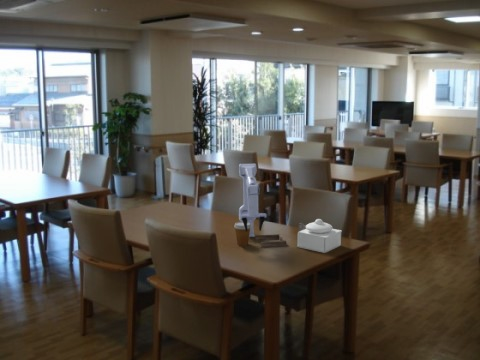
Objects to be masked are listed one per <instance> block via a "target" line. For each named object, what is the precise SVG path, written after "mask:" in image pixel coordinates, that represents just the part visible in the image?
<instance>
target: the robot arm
mask: <svg viewBox="0 0 480 360" xmlns="http://www.w3.org/2000/svg"><path fill="white" fill-rule="evenodd" d="M257 172H258V171H257V164H256V163H239V164H238V176H239V177H240V178H242V185H243V186H242V189H243V193H242V194H243V197H242V198H243V204H242V205H241V206H240V207H239V208H238V220H239V222H243V223H244V226H245V231H246V232H247V222H248V223H250V225H251V228H250V234H249V238H254V237H255V238H256V234H254V222H255V221H256V219H258V230H259V231H261V232H262V229H263V228H262V227H263V225H264V222H265V221H266V220H265V219H266V218H267V213H264V212H263V213H262V212H259V195H260V186H259V184H258V183H257V179H256V177H255V176H256V174H257Z"/></svg>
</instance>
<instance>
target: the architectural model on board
mask: <svg viewBox="0 0 480 360" xmlns="http://www.w3.org/2000/svg"><path fill="white" fill-rule="evenodd" d="M306 225H307V223H303V222H299V223H298V232H299V231H302V230H304V229H306Z"/></svg>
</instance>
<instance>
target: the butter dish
mask: <svg viewBox="0 0 480 360" xmlns="http://www.w3.org/2000/svg"><path fill="white" fill-rule="evenodd" d="M306 224H307V223H306ZM342 233H343V232H342V230H341V229H336V228H333V226H332V224H330V223H327V222H324V221H323V220H322V219H321V218H316V219H315V221H313V222H309V223H308V224H307V225H306V229H304V230H302V231H299V230H298V232H297V235H296V236H297V238H296V239H297V248H300V249H305V250H310V251H313V252H319V253H323V254H325V253H328V252H330V251H333V250H334V249H336V248H338V247H340V246H341V244H342V243H341V242H342V240H341V239H342Z"/></svg>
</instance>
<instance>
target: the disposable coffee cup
mask: <svg viewBox="0 0 480 360" xmlns="http://www.w3.org/2000/svg"><path fill="white" fill-rule="evenodd" d="M233 227H234V230H235V236H236V244H237V246H239V247H240V246H241V247H245V246H248V245H249V240H250V237H249V234H250V228H251V225H250V223H248V222H247V232H246V231H245V226H244V223H243V222H241V221H237V222H235V223H234V226H233Z"/></svg>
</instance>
